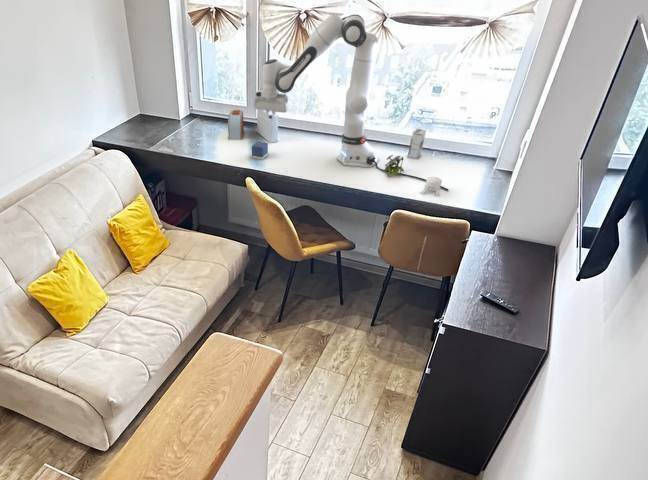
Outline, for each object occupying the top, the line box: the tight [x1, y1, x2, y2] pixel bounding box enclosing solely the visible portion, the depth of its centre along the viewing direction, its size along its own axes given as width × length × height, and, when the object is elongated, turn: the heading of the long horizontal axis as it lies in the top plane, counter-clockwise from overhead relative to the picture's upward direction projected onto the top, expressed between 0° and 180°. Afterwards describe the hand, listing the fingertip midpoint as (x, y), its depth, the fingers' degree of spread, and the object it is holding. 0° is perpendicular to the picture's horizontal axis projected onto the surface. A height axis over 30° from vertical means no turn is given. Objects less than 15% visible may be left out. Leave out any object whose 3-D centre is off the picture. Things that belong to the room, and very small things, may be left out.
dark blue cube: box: [251, 140, 269, 160], centre depth 320 cm, size 7×8×7 cm
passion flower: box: [383, 154, 405, 177], centre depth 294 cm, size 11×11×12 cm
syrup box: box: [407, 128, 427, 160], centre depth 306 cm, size 6×6×14 cm
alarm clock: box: [227, 109, 245, 140], centre depth 344 cm, size 15×8×14 cm, turn 172°
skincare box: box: [256, 109, 279, 143], centre depth 338 cm, size 21×5×16 cm, turn 22°
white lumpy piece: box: [421, 176, 443, 196], centre depth 275 cm, size 9×8×15 cm
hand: (271, 118), depth 306 cm, fingers closed
